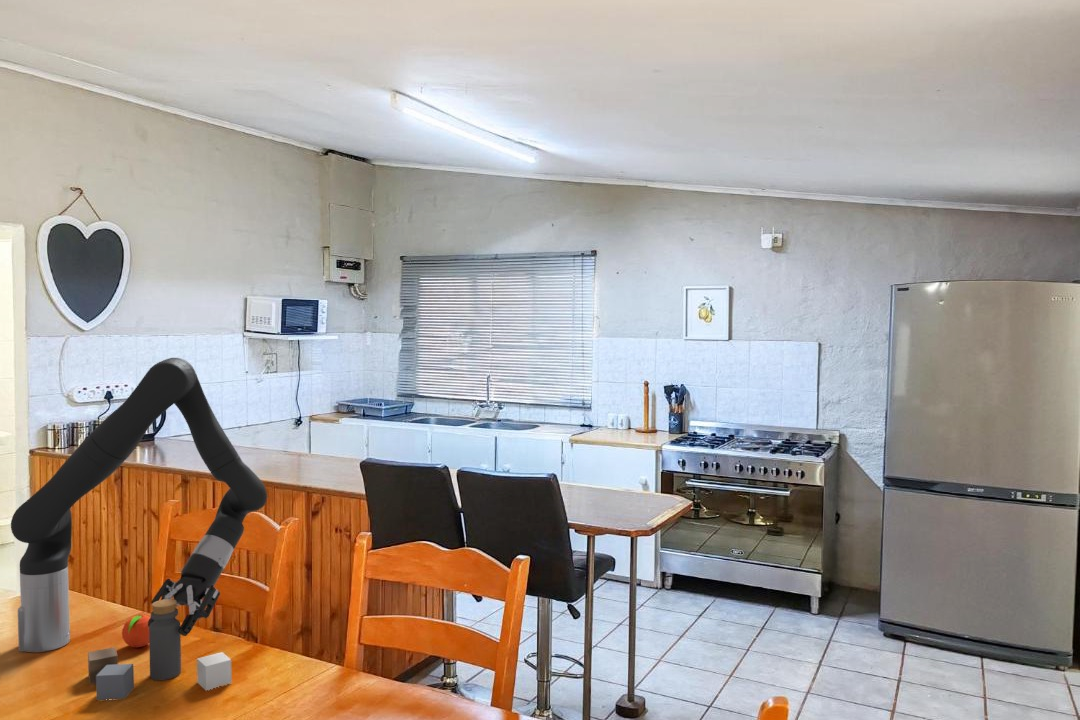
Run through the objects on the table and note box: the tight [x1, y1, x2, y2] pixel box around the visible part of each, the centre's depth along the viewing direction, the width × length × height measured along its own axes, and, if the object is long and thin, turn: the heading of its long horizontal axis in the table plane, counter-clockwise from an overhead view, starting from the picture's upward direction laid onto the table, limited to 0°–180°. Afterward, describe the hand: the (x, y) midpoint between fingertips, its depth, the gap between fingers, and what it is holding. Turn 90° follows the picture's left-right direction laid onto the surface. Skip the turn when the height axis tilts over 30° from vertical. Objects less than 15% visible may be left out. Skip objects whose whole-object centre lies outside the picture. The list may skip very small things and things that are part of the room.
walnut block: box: [87, 646, 119, 686], centre depth 168 cm, size 5×5×5 cm
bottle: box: [148, 598, 182, 681], centre depth 169 cm, size 6×6×15 cm
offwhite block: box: [196, 651, 232, 692], centre depth 165 cm, size 5×5×5 cm
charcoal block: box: [95, 663, 135, 701], centre depth 160 cm, size 5×5×5 cm
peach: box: [121, 614, 151, 648], centre depth 183 cm, size 8×7×7 cm
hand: (166, 631), depth 169 cm, fingers open, 8 cm apart
